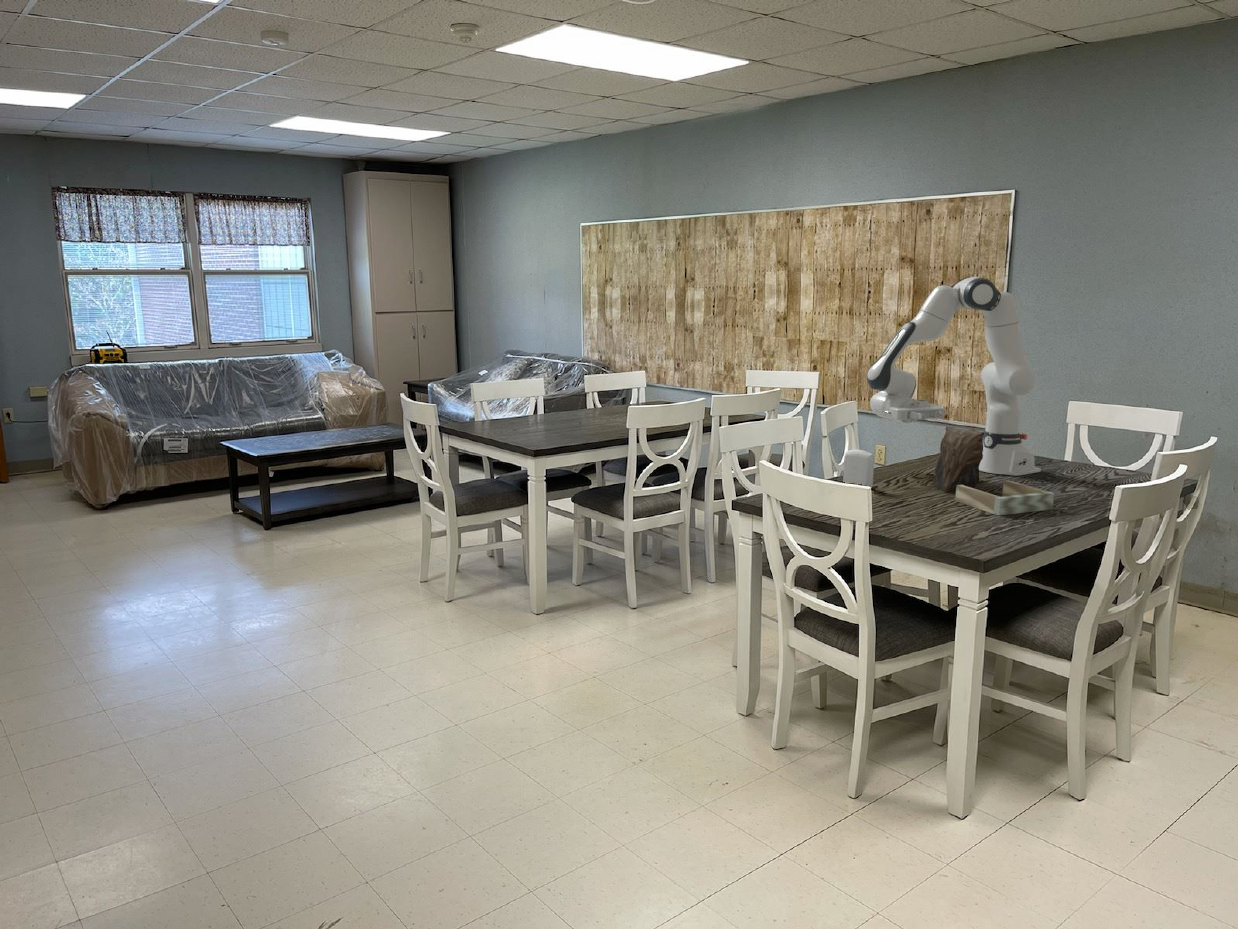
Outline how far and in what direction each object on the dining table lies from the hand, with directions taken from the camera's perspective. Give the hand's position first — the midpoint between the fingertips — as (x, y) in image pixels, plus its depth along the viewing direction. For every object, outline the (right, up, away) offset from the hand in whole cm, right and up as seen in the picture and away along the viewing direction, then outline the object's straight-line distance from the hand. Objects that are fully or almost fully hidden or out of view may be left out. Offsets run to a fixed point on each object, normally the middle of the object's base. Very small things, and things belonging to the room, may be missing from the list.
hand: (932, 416), depth 301 cm
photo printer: (-27, -24, -5) cm, 36 cm away
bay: (+12, -28, -25) cm, 40 cm away
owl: (+4, -25, -6) cm, 26 cm away
